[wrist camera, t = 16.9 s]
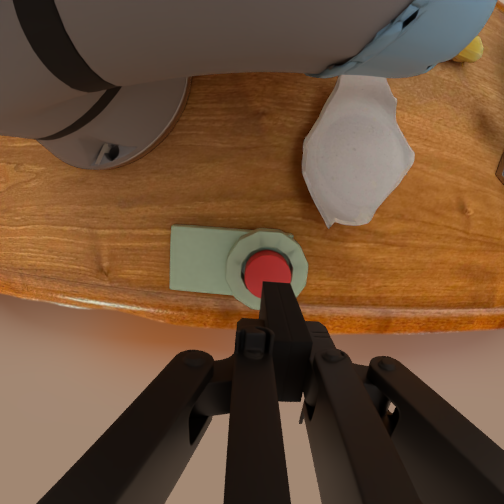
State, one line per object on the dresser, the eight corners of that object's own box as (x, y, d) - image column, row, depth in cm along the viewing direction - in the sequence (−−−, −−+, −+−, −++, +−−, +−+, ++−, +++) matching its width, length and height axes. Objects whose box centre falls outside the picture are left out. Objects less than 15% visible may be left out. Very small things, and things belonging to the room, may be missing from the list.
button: (243, 290, 25) (242, 298, 23) (246, 248, 24) (246, 253, 22) (285, 293, 25) (288, 301, 23) (290, 251, 24) (294, 257, 22)
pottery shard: (323, 236, 26) (338, 248, 21) (259, 122, 24) (261, 107, 19) (416, 183, 25) (445, 184, 20) (360, 75, 23) (380, 56, 18)
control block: (172, 289, 27) (164, 301, 24) (174, 219, 26) (165, 223, 23) (296, 299, 28) (301, 312, 25) (305, 229, 26) (312, 235, 23)
